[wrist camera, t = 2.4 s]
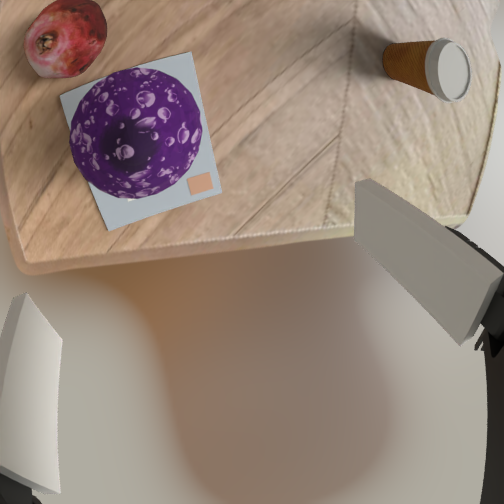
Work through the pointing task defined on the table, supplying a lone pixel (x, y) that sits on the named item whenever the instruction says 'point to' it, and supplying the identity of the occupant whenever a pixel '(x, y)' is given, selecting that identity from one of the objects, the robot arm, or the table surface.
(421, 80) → the disposable coffee cup
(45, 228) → the table surface
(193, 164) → the letter
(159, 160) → the decorative mushroom
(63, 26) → the fruit
